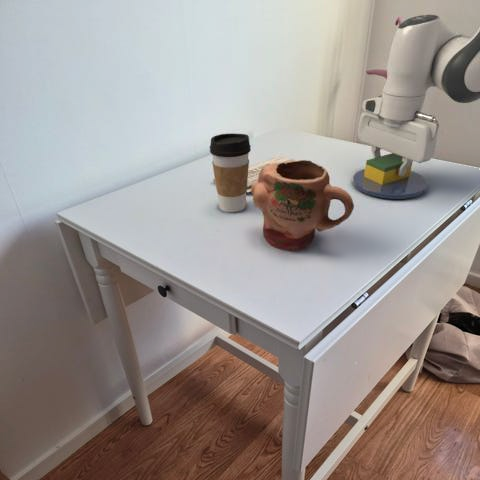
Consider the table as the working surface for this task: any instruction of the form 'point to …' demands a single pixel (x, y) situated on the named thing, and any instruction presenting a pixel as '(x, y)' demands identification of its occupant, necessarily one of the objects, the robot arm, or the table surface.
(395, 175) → the sponge
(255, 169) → the newspaper
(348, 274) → the table surface
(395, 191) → the plate
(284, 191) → the sculpted ceramic mug
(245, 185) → the coffee cup
